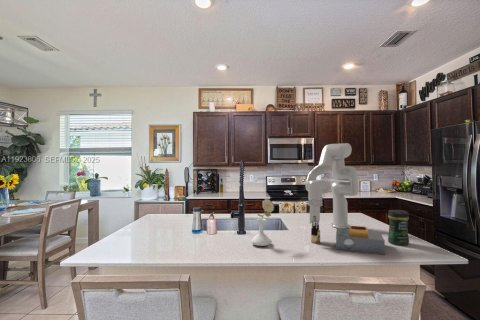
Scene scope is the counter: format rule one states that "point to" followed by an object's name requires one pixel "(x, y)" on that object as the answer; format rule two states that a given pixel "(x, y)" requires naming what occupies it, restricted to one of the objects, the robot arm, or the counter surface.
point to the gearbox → (360, 240)
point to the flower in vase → (261, 237)
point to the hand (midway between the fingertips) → (315, 233)
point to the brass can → (316, 238)
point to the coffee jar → (398, 227)
